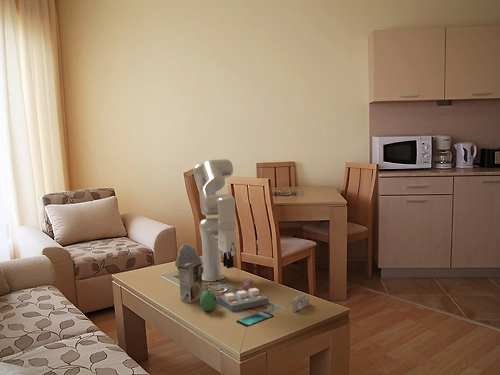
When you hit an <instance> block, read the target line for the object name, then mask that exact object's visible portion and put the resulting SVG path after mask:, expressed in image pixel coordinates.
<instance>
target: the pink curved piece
mask: <svg viewBox="0 0 500 375" xmlns="http://www.w3.org/2000/svg"><path fill="white" fill-rule="evenodd" d="M253 282H254V280H253V279H251V278H248V279H246V280H245V281H244V283H243V284H242V285H241V288H239V289H238V291H242V290H244V291H246V290H248V289H252V287H251V286H252V285H253Z"/></svg>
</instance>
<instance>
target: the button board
mask: <svg viewBox="0 0 500 375" xmlns="http://www.w3.org/2000/svg"><path fill="white" fill-rule="evenodd" d="M246 292H247V297H246V298H241V299H240V298H238V297H237V293H236V292H232V293H233V294H234V295H235V300H231V301H226V300H225V299H224V294H220V295H217V297H218V298H217V299H218V303H220V304H221V305H222V306H223V307H225V308H226V309H227V310H228V311H229V312H235V311H241V310H246V309H250V308H253V307H258V306H262V305H267V304H269V302H270V301H269V297H267V296H266V295H264V293H263V294H262V292H259V295H255V296H251V295H249V293H248V290H246Z"/></svg>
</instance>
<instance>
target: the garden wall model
mask: <svg viewBox="0 0 500 375" xmlns="http://www.w3.org/2000/svg"><path fill="white" fill-rule="evenodd" d="M310 299H311V297H307V295H306V294H302V295H296V296H295V298H294V299H293V300H290V302H291V312H292V313H296V312H297V311H301V310H302V309H303V308H305V307H306V306H307V307H308V306H309V305H310ZM300 309H301V310H300Z"/></svg>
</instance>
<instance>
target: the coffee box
mask: <svg viewBox="0 0 500 375" xmlns="http://www.w3.org/2000/svg"><path fill="white" fill-rule="evenodd" d="M202 274H203V272H202V266H201V263H197V262H188V263H186V264H184V265H182V266H179V270H178V275H179V277H178V278H179V296H180V299H179V300H180V301H182V302H185V303H191V304H192V303H194V302H195V301H197V300H200V297H201V295H202V294H203V293H204V291H203V280H202Z"/></svg>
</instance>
